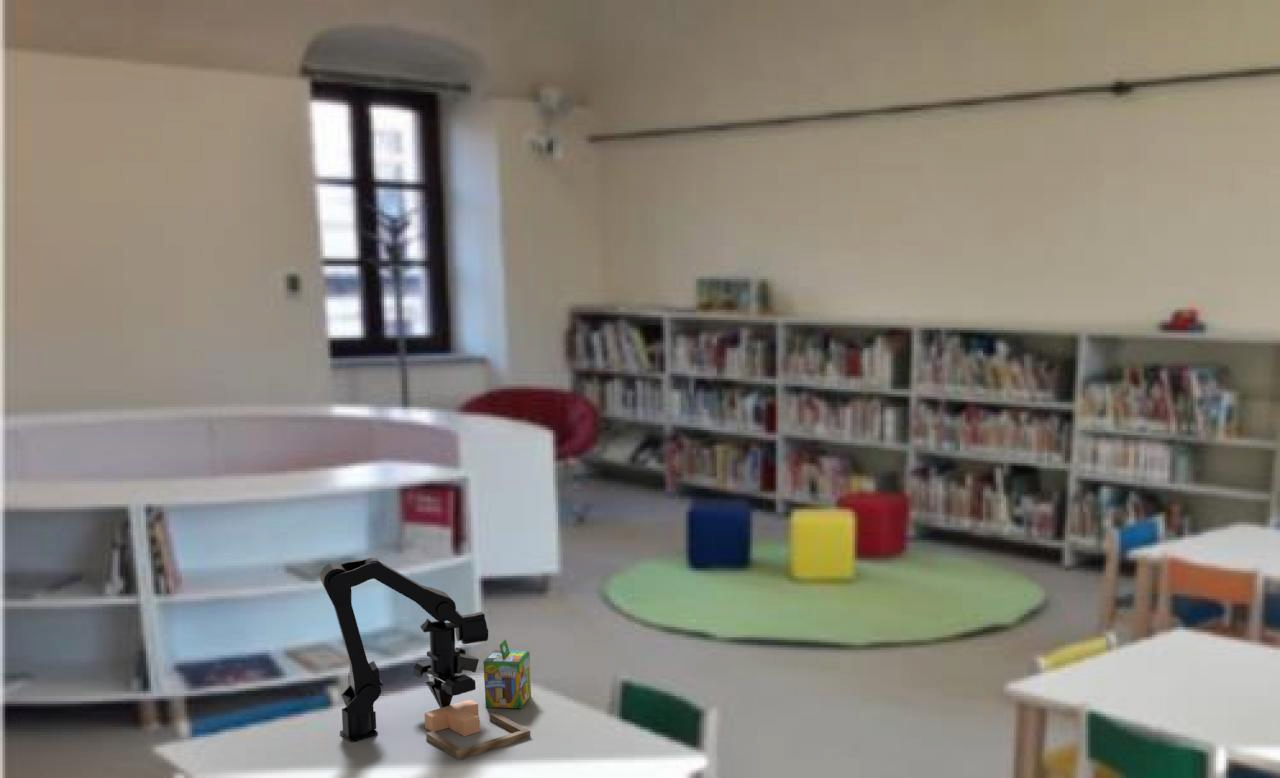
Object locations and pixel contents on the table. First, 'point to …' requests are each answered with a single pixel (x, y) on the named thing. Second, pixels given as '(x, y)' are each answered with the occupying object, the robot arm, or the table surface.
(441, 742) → the bay
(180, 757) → the table surface
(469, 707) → the t block
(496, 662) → the chalk box
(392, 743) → the table surface
